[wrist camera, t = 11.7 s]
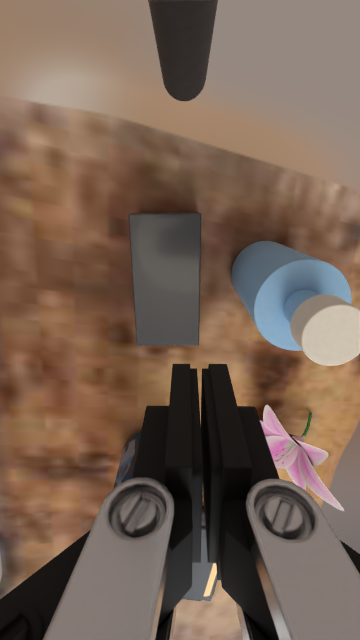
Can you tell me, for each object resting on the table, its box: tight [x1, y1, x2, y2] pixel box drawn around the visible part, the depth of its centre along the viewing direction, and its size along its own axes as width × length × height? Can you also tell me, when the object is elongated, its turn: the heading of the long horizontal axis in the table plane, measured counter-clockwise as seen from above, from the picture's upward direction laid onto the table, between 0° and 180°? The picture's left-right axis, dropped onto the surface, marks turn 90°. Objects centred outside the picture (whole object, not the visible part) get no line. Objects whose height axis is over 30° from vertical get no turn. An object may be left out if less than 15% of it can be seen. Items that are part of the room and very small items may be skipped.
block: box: [129, 212, 201, 345], centre depth 30 cm, size 12×6×5 cm, turn 0°
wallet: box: [182, 508, 217, 601], centre depth 46 cm, size 20×2×15 cm
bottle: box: [231, 241, 360, 366], centre depth 25 cm, size 14×7×16 cm
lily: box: [260, 405, 344, 511], centre depth 35 cm, size 12×12×10 cm
